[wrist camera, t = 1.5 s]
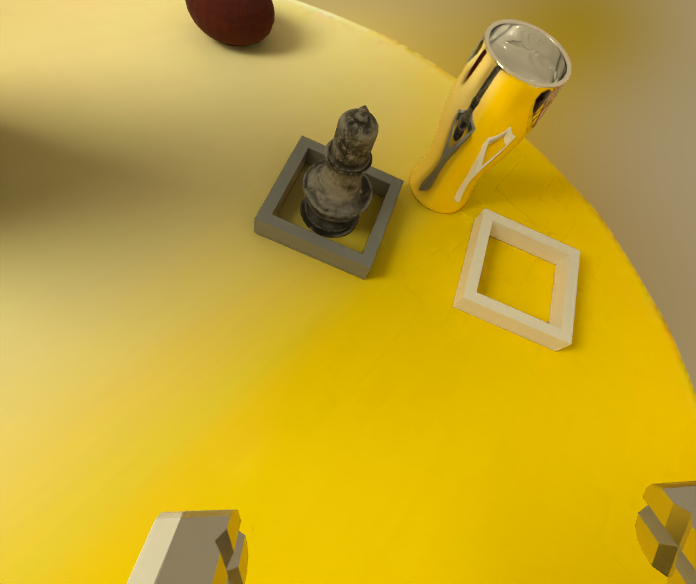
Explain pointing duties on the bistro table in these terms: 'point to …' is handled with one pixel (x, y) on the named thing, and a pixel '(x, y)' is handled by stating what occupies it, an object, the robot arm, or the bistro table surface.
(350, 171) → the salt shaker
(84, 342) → the bistro table surface
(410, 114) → the bistro table surface
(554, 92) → the beer glass
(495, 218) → the pale socket
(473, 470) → the bistro table surface
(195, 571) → the robot arm
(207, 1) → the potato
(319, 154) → the dark socket
